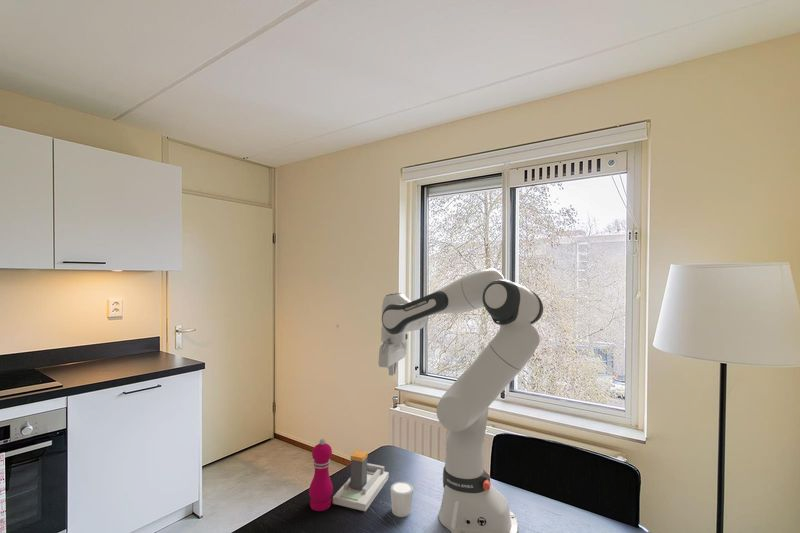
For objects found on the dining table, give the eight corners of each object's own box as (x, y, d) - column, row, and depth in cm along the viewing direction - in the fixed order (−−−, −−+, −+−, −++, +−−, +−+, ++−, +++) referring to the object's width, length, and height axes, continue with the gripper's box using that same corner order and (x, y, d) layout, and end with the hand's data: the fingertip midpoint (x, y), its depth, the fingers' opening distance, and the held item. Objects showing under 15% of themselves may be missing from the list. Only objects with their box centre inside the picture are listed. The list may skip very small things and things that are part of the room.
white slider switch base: (388, 478, 133) (388, 466, 133) (365, 511, 114) (365, 497, 114) (359, 472, 137) (360, 461, 137) (332, 503, 118) (332, 490, 118)
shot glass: (413, 518, 111) (413, 494, 111) (389, 517, 111) (390, 493, 111) (412, 504, 118) (413, 481, 118) (390, 503, 118) (390, 480, 118)
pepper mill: (319, 515, 112) (321, 446, 112) (303, 506, 116) (305, 439, 116) (337, 504, 117) (339, 438, 118) (321, 495, 122) (323, 432, 122)
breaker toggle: (367, 483, 125) (367, 452, 125) (361, 490, 121) (362, 458, 121) (355, 481, 126) (356, 450, 126) (349, 487, 122) (350, 455, 123)
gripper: (391, 341, 131) (390, 382, 130) (409, 333, 150) (408, 369, 150) (374, 340, 133) (373, 380, 132) (394, 332, 152) (393, 367, 152)
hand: (392, 374), depth 141 cm, fingers closed
